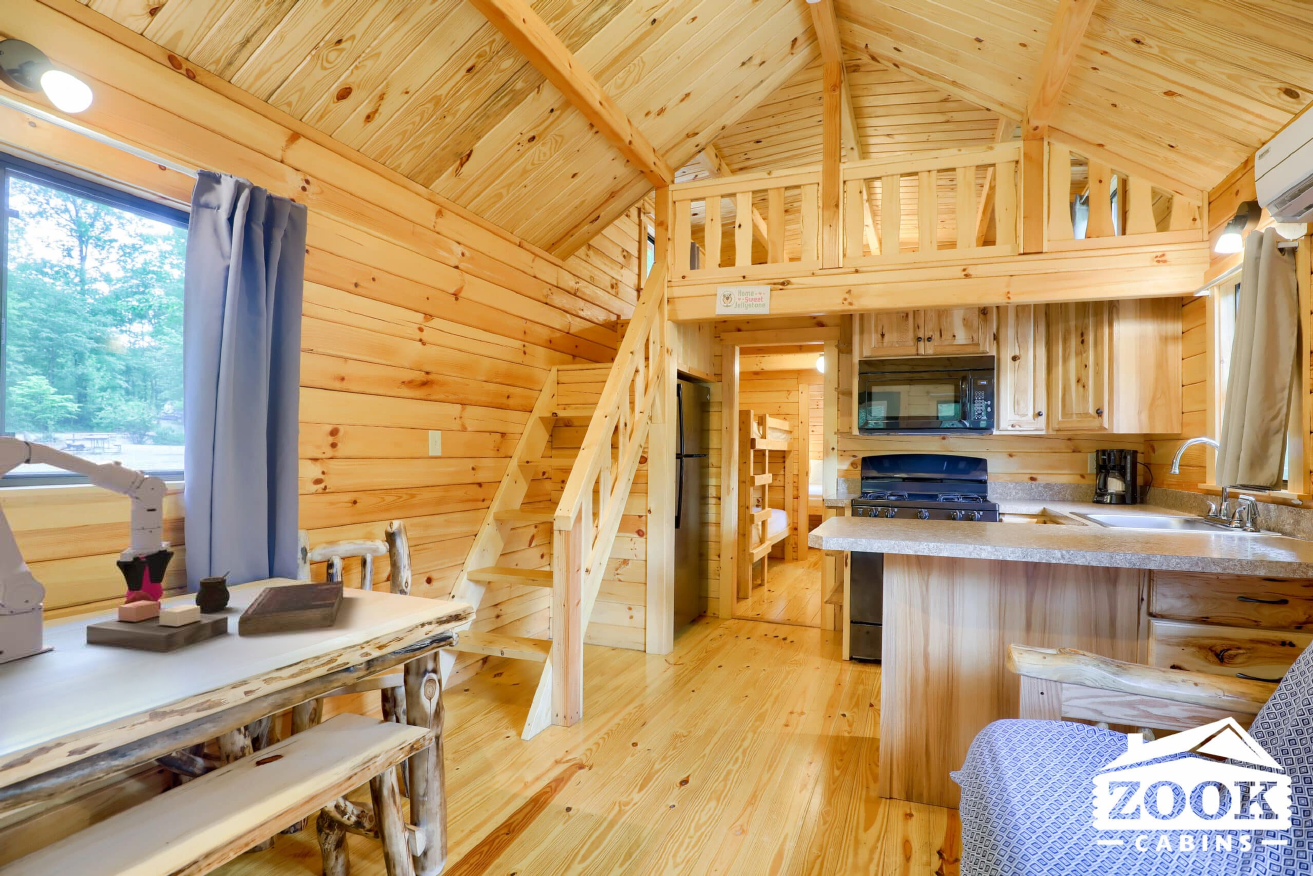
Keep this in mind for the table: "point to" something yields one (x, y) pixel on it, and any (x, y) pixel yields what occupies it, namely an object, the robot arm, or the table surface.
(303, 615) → the hardback book
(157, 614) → the terracotta key
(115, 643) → the key bed
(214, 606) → the mate gourd
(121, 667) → the table surface
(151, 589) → the pepper mill
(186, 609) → the cream key
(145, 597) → the onion
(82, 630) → the table surface
